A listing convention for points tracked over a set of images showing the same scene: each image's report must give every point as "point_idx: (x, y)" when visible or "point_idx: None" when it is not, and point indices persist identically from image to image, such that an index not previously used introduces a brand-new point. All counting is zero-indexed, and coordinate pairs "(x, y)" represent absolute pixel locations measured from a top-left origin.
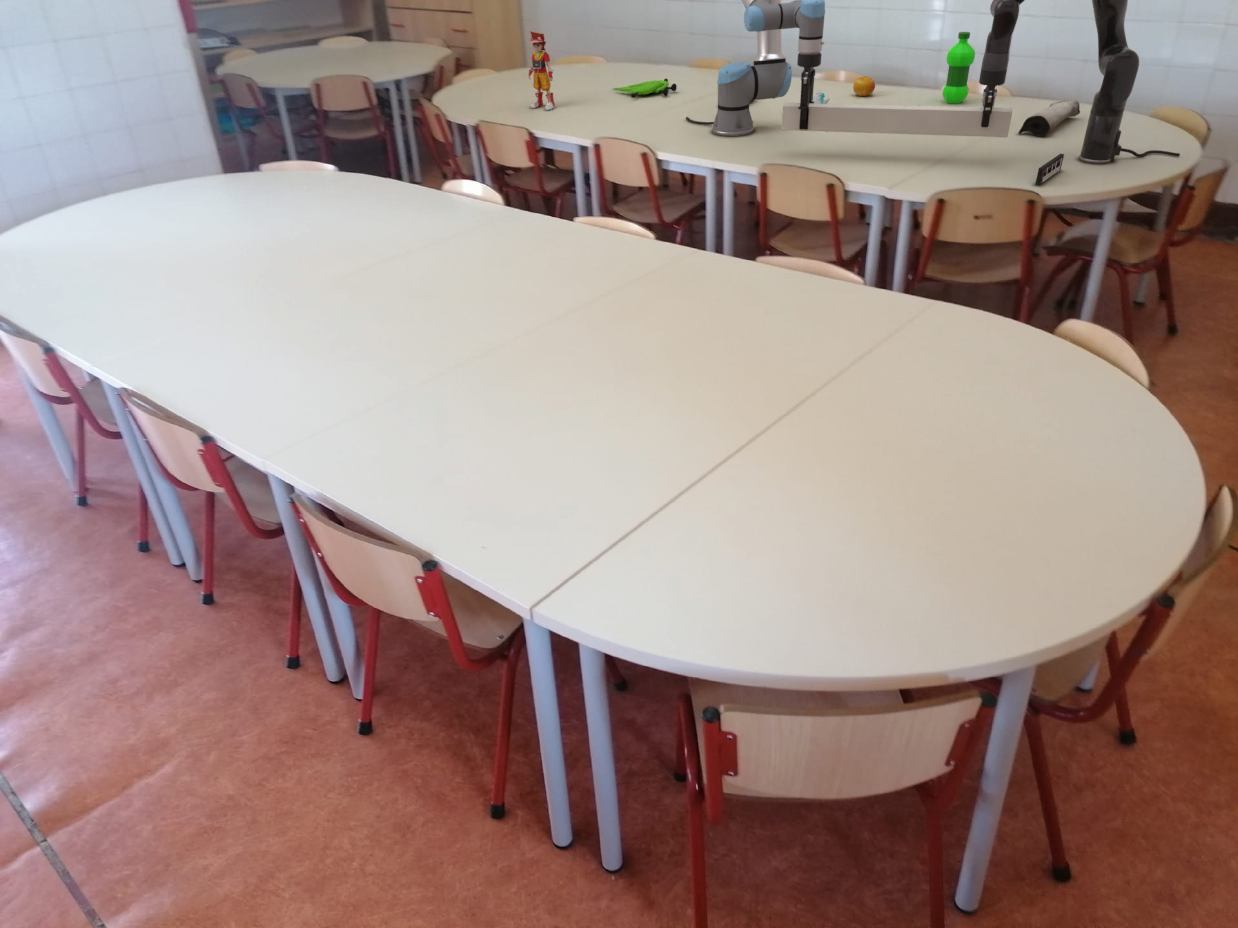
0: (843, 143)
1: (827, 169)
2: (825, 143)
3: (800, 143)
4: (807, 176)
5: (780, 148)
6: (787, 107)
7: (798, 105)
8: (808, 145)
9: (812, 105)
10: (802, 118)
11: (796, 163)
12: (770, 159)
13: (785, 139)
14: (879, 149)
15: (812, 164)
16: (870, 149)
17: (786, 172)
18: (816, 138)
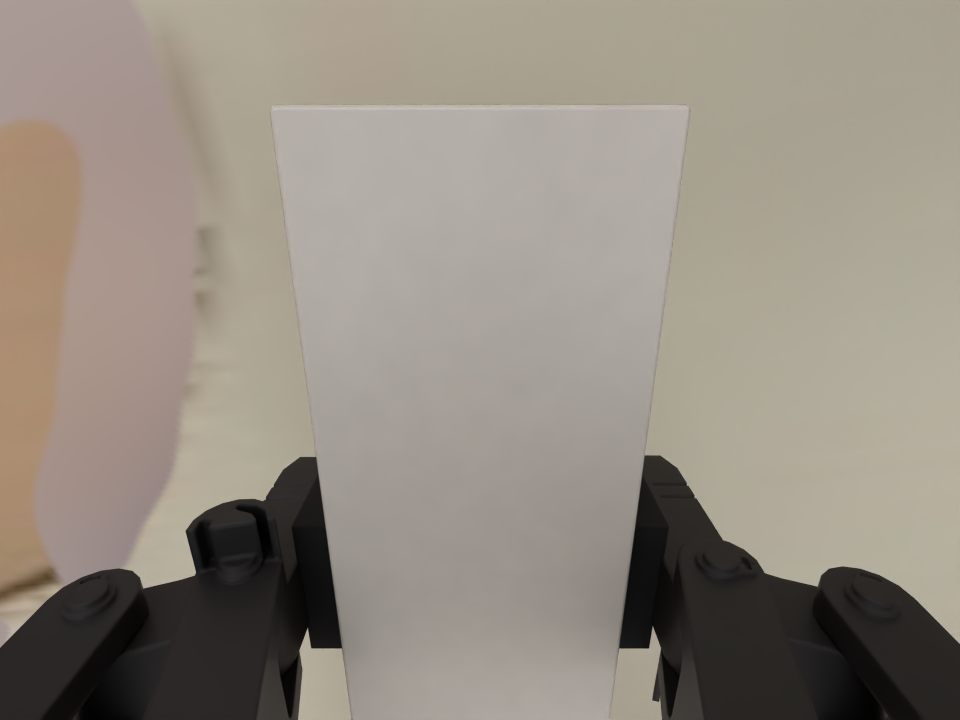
0: (772, 527)
1: (196, 509)
2: (781, 426)
3: (797, 251)
4: (5, 421)
5: (650, 101)
6: (301, 245)
7: (408, 496)
8: (736, 321)
9: (452, 715)
10: (287, 481)
11: (259, 307)
12: (306, 72)
13: (943, 94)
14: (640, 693)
15: (270, 414)
16: (639, 659)
17: (20, 273)
18: (926, 350)
